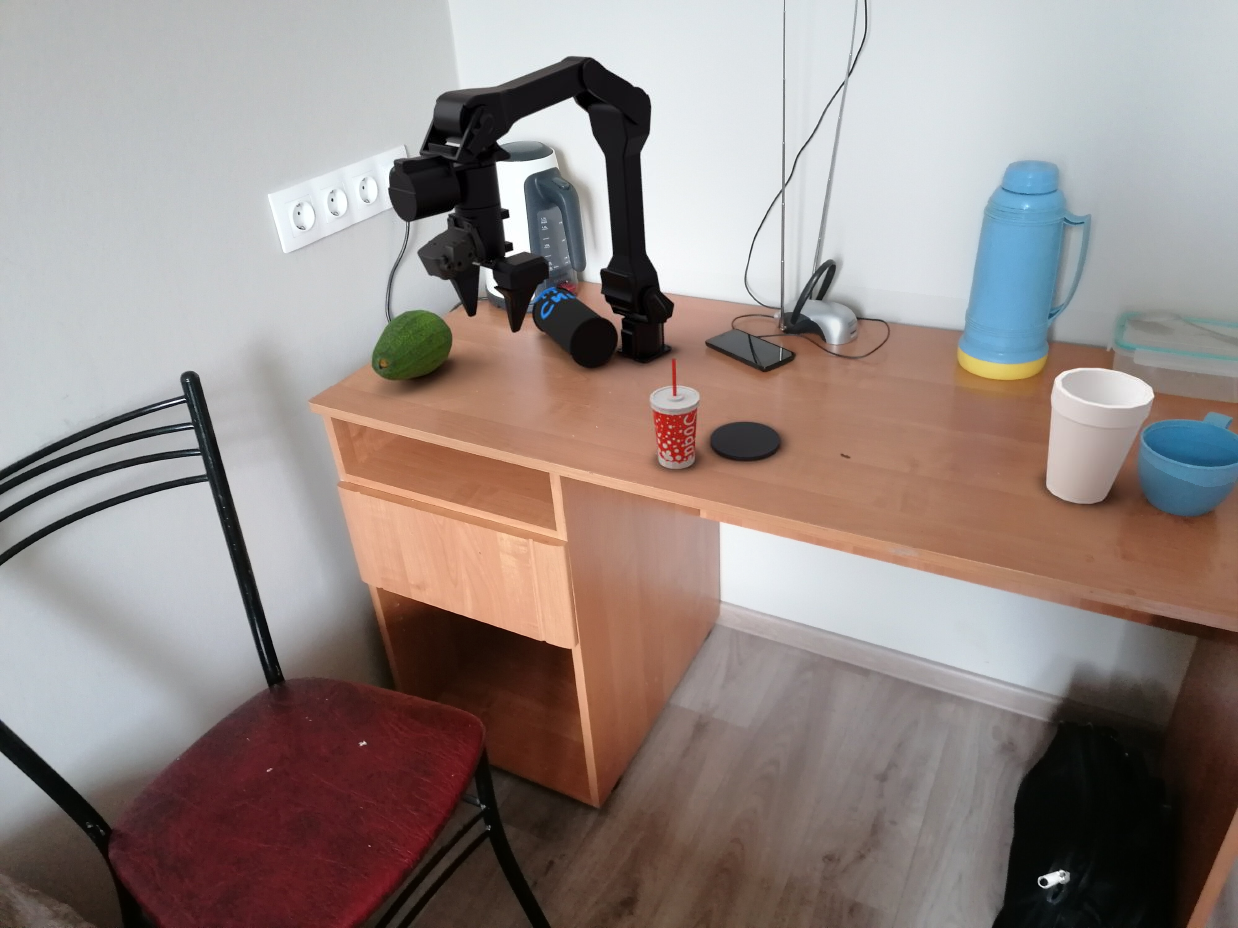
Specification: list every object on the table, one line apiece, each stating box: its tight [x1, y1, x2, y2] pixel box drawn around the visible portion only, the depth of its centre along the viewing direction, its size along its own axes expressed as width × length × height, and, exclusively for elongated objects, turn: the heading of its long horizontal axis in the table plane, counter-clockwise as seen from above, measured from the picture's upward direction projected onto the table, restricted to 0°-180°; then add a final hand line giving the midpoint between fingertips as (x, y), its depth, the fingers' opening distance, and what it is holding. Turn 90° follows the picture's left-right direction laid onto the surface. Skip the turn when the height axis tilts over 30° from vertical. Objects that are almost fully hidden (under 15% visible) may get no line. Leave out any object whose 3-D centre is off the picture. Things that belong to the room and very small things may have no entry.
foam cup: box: [1045, 367, 1155, 505], centre depth 94 cm, size 10×9×13 cm
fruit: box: [371, 309, 453, 381], centre depth 131 cm, size 15×10×10 cm, turn 150°
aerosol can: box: [531, 286, 619, 369], centre depth 138 cm, size 8×8×20 cm
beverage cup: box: [649, 358, 701, 470], centre depth 104 cm, size 6×6×14 cm
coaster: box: [709, 421, 781, 462], centre depth 110 cm, size 9×9×1 cm
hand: (493, 323), depth 112 cm, fingers open, 9 cm apart
